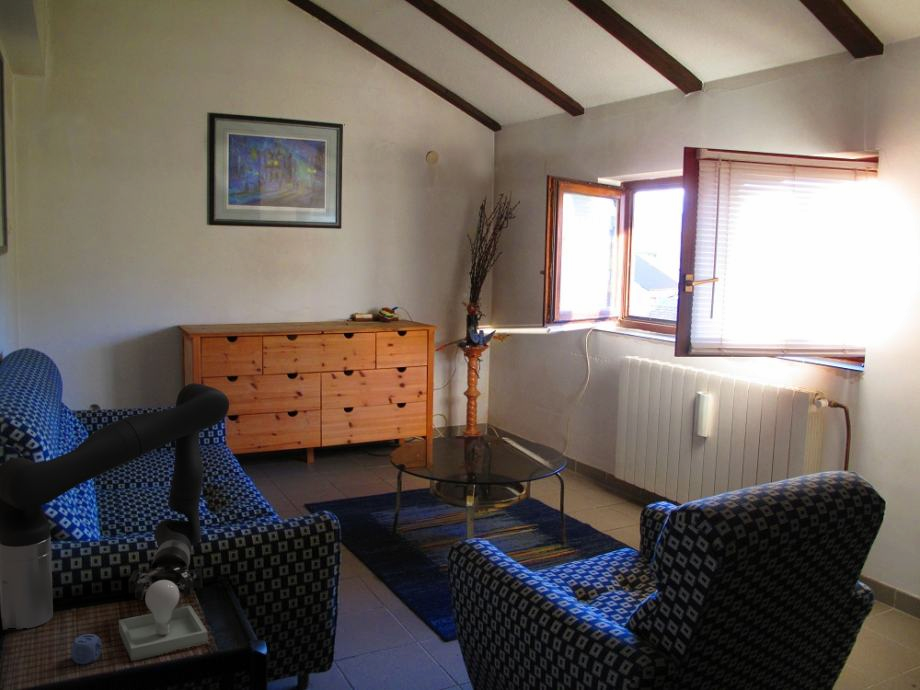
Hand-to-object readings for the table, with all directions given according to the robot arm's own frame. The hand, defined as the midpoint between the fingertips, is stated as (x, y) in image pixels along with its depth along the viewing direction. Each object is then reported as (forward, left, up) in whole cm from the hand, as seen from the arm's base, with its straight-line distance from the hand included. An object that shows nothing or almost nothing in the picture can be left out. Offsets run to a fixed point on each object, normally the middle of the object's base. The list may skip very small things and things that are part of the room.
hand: (163, 594), depth 163 cm
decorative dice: (-15, -3, -8) cm, 17 cm away
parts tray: (-1, -2, -8) cm, 8 cm away
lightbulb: (-1, -2, -8) cm, 8 cm away
